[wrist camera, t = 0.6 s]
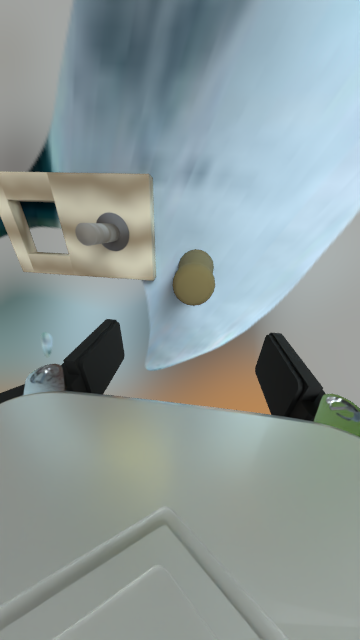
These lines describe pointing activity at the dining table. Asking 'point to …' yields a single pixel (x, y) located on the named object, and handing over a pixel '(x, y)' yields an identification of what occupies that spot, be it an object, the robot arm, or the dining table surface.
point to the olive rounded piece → (194, 278)
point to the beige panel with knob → (85, 222)
